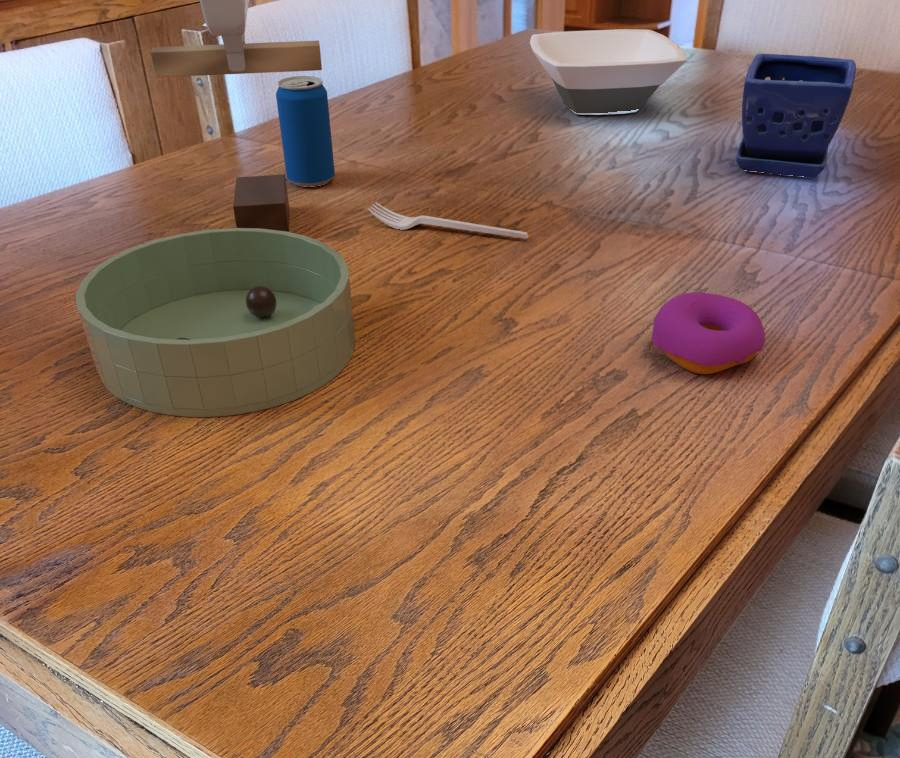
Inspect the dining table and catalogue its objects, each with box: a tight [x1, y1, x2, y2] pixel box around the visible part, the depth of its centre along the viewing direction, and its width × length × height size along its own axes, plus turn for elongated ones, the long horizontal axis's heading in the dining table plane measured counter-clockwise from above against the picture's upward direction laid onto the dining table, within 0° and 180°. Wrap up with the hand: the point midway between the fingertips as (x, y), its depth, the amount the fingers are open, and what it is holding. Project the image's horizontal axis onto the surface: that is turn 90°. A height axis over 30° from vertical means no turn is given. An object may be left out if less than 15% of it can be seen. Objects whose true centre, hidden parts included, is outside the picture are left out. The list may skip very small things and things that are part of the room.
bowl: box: [529, 28, 688, 113], centre depth 142 cm, size 22×23×8 cm
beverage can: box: [275, 75, 336, 187], centre depth 117 cm, size 6×6×12 cm
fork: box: [367, 201, 529, 239], centre depth 108 cm, size 3×20×2 cm, turn 70°
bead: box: [246, 286, 276, 318], centre depth 90 cm, size 3×3×3 cm
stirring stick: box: [150, 40, 323, 78], centre depth 98 cm, size 18×2×2 cm, turn 98°
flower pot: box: [735, 53, 857, 178], centre depth 119 cm, size 13×13×12 cm
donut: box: [651, 291, 766, 375], centre depth 84 cm, size 10×10×5 cm
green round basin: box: [75, 227, 356, 418], centre depth 85 cm, size 25×25×7 cm
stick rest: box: [232, 173, 291, 232], centre depth 110 cm, size 6×10×4 cm, turn 8°
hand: (238, 65), depth 99 cm, fingers closed on stirring stick, 2 cm apart
